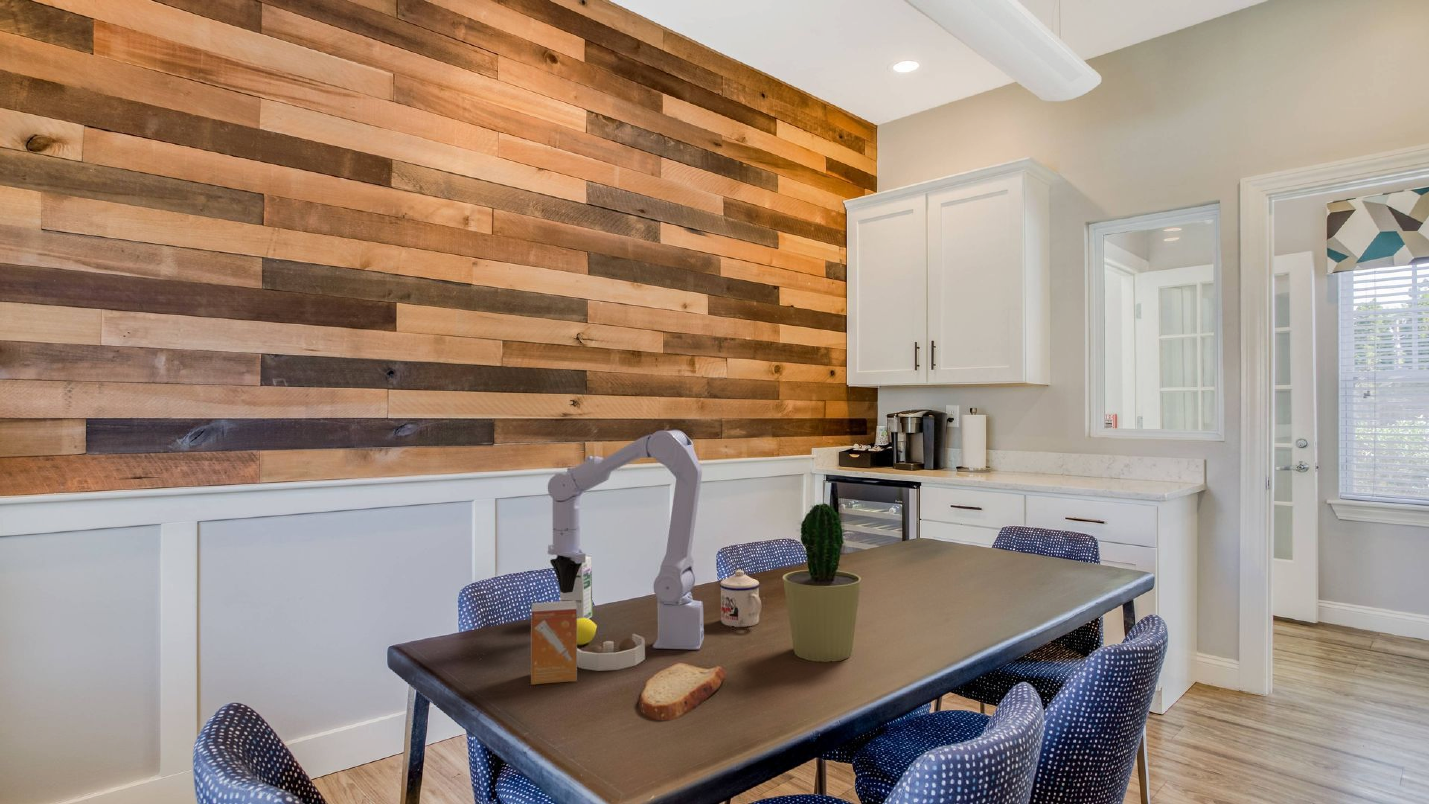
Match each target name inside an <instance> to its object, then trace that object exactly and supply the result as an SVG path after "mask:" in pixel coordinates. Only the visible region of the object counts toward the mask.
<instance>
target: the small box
mask: <svg viewBox="0 0 1429 804" xmlns="http://www.w3.org/2000/svg"><path fill="white" fill-rule="evenodd" d="M577 648H578V645H577V606H576V601H575V600H574V601H560V600H559V601H558V600H557V601H546V602H533V603H531V618H530V684H531V685H532V686H533V685H539V684H541V685H542V684H551V683H552V684H553V683H564V682H565V683H567V682H577V680H578V669H577V668H578V667H577Z"/></svg>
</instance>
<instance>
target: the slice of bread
mask: <svg viewBox="0 0 1429 804" xmlns="http://www.w3.org/2000/svg"><path fill="white" fill-rule="evenodd" d="M726 677H727V676H726V673H725V671H724V669H723V668H722V667H721V666H719V665H716V667H712V668H703V667H698V666H694V665H693V664H688V663H682V662H678V663H677V662H676V663H674V664H673V665H671V666H669V667H667V668H665V669H663V670H660V671H658V672H657V673H656V674H654V675H652V677H650V678H649V679H648V680H647V681H646V683H645V684H644V686H645V687H644V689H643V691H641V693H640V698H639V702H638V704H639V708H640V710H641V712H642V713H643V715H645V716H647V717H649V718H650V719H655V720H657V719H658V720H657V721H672V720H676V719H678V718H679V717H683V716H684V715H686V714H687V713H689V712H691V711H692V710H695V708H697V707H698V706H699V705H701V704H702V703H703V702H704V701H706V700H708V698H710V697H711V696H712V695H713V694H714V693H715V692H716V691H718V690H719V688H720V687H721V686H722V683H723V682H724V680H725V678H726Z"/></svg>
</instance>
